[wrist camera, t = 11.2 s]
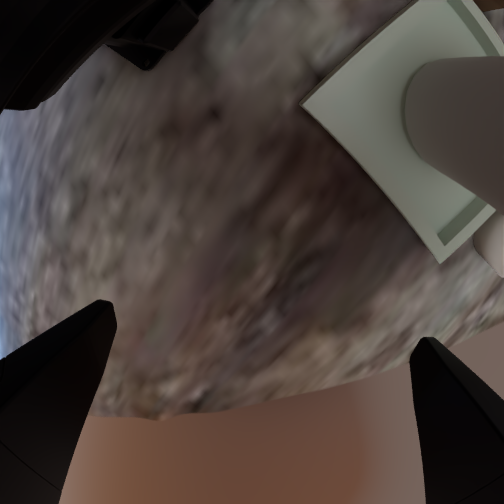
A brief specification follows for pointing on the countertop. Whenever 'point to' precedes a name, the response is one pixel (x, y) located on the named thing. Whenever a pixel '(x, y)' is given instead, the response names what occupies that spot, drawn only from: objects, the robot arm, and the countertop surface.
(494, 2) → the walnut block
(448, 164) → the can
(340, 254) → the countertop surface
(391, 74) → the tray
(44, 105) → the countertop surface
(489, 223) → the off-white egg
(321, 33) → the countertop surface
